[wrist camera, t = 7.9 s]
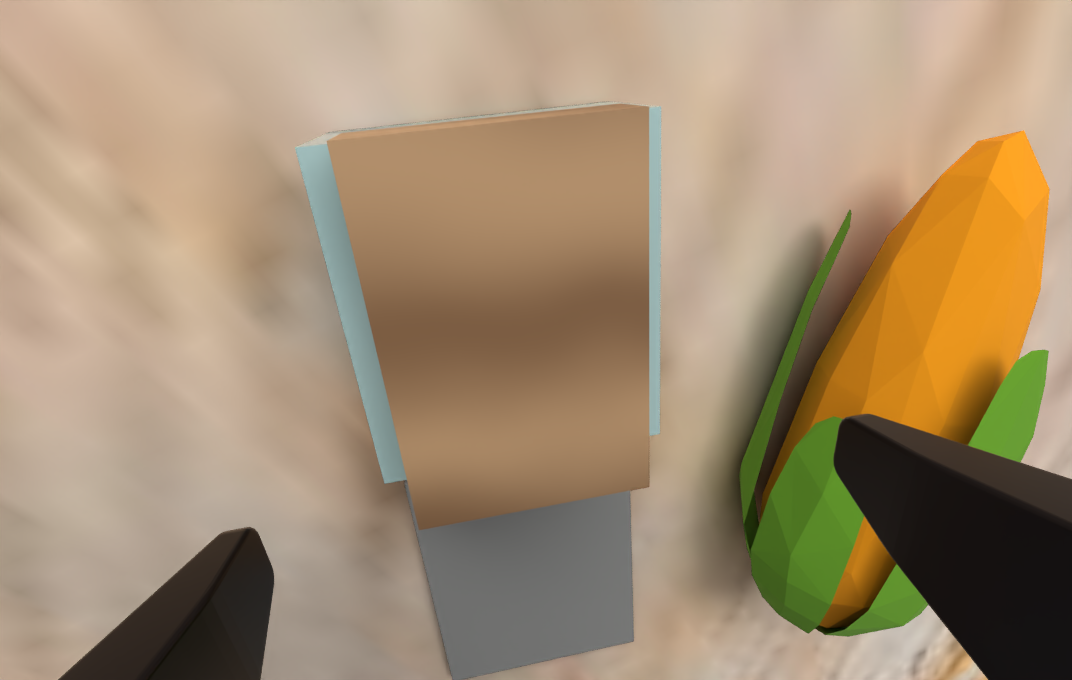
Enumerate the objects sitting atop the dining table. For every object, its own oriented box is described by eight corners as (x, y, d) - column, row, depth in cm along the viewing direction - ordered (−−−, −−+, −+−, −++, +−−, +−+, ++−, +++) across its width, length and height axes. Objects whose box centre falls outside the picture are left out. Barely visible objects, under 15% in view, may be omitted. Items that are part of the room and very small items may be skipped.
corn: (781, 719, 20) (1057, 123, 12) (682, 557, 27) (815, 106, 19) (942, 687, 22) (1270, 156, 14) (811, 544, 28) (982, 131, 21)
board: (627, 445, 18) (649, 487, 16) (420, 483, 17) (418, 530, 15) (619, 103, 13) (648, 106, 11) (341, 133, 13) (326, 141, 11)
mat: (630, 630, 28) (633, 641, 28) (452, 669, 27) (453, 681, 27) (624, 435, 23) (628, 444, 22) (405, 475, 22) (404, 484, 21)
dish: (617, 368, 22) (659, 433, 18) (393, 405, 21) (384, 483, 17) (608, 101, 17) (661, 106, 13) (328, 132, 17) (295, 147, 12)
